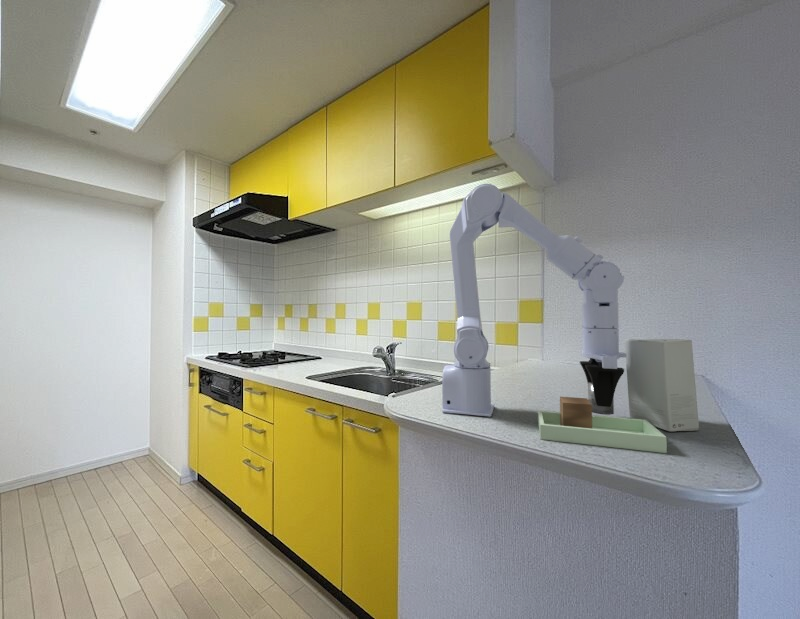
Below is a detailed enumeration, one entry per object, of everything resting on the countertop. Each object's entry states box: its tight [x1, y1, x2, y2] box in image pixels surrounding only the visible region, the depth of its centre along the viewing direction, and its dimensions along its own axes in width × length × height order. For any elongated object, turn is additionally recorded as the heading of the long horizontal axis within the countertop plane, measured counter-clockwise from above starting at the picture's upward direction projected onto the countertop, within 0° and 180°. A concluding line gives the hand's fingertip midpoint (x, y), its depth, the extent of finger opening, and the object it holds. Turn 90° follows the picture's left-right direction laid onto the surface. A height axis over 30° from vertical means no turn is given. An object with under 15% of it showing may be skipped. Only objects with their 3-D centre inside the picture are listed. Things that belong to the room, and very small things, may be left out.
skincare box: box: [624, 337, 700, 432], centre depth 58 cm, size 8×6×15 cm
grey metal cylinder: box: [587, 382, 615, 416], centre depth 61 cm, size 4×4×5 cm
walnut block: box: [559, 396, 593, 429], centre depth 53 cm, size 4×4×5 cm
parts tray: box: [537, 410, 668, 454], centre depth 52 cm, size 16×8×2 cm, turn 70°
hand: (600, 402), depth 61 cm, fingers closed on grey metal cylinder, 4 cm apart
